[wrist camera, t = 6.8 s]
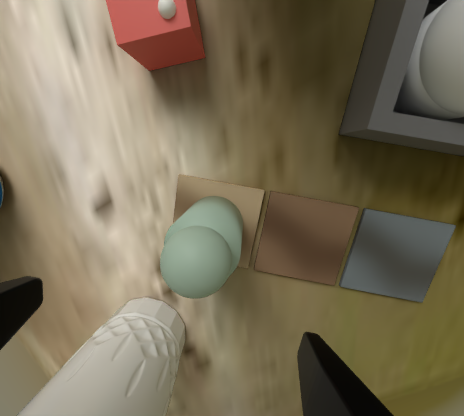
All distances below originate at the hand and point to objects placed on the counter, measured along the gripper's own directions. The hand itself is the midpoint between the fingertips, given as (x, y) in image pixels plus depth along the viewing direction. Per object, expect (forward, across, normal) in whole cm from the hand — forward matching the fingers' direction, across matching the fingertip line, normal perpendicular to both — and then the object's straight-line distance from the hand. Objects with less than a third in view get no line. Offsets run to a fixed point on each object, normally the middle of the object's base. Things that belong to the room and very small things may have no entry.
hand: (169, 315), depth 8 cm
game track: (+11, -7, 0) cm, 13 cm away
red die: (+11, +5, -12) cm, 17 cm away
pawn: (+10, 0, 0) cm, 11 cm away
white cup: (+11, +4, +11) cm, 16 cm away
